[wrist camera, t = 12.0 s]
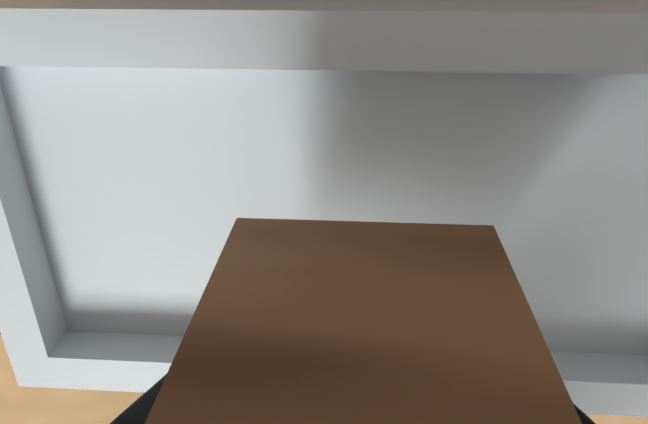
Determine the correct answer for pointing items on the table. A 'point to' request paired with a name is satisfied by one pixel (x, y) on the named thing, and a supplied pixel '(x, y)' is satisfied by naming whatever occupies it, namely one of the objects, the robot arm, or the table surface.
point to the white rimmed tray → (316, 163)
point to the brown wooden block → (362, 331)
